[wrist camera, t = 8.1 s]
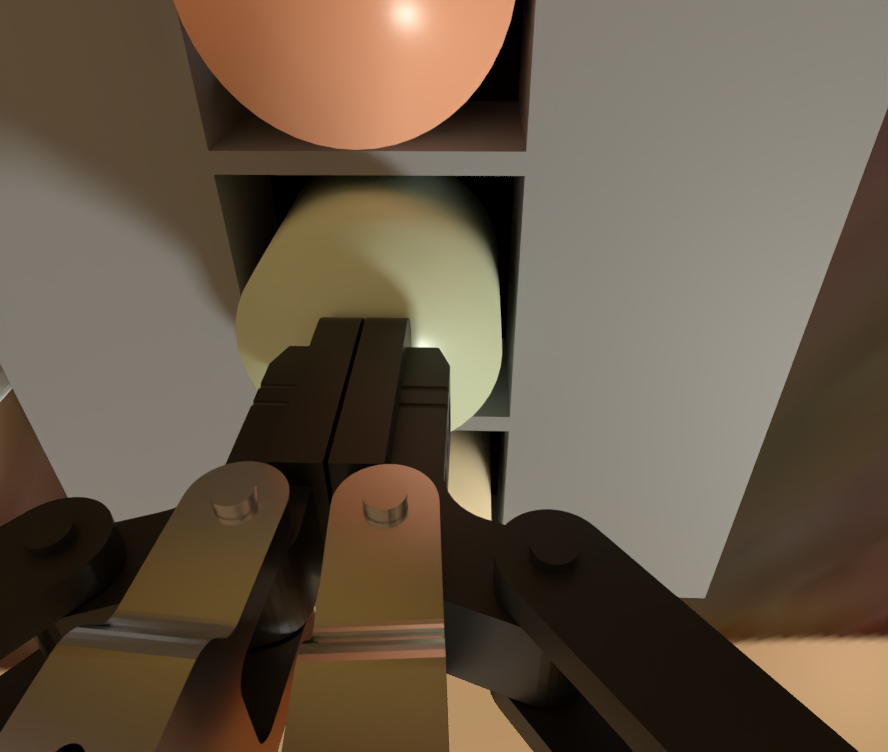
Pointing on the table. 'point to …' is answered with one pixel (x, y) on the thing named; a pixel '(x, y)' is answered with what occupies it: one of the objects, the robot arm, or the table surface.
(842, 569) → the table surface
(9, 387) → the small box
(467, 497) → the button cream
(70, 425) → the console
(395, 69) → the button terracotta
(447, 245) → the button sage
